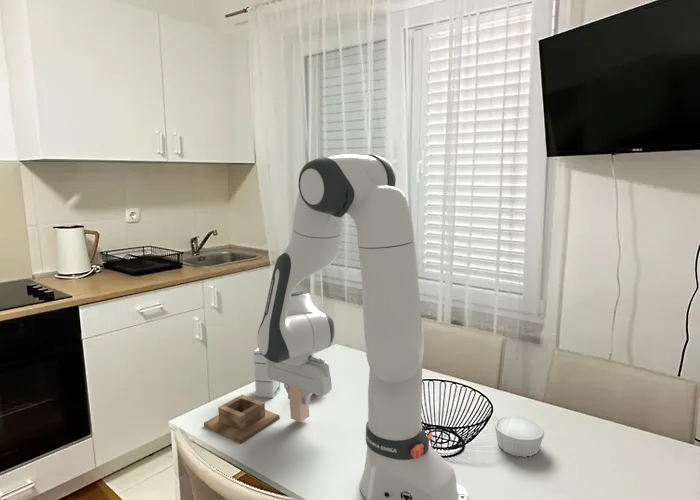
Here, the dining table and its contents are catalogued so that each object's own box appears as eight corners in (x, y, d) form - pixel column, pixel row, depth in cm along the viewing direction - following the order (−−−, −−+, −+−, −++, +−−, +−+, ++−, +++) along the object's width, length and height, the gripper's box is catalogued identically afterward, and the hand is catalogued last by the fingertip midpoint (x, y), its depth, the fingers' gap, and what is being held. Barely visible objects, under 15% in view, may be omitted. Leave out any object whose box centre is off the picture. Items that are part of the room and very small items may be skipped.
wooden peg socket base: (279, 418, 128) (279, 401, 127) (241, 443, 116) (240, 424, 116) (243, 404, 136) (242, 388, 135) (203, 426, 124) (202, 408, 123)
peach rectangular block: (309, 416, 126) (307, 374, 124) (300, 422, 124) (298, 379, 122) (299, 412, 128) (297, 371, 126) (290, 418, 126) (288, 376, 124)
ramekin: (486, 435, 120) (487, 415, 119) (529, 432, 121) (530, 413, 120) (505, 462, 109) (506, 441, 108) (551, 459, 110) (552, 438, 109)
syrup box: (273, 398, 139) (272, 351, 137) (255, 396, 140) (253, 350, 138) (280, 389, 145) (279, 344, 142) (262, 387, 146) (260, 343, 143)
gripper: (336, 356, 119) (337, 407, 122) (277, 340, 131) (280, 387, 133) (320, 365, 114) (322, 417, 117) (261, 348, 126) (263, 396, 128)
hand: (299, 401), depth 125 cm, fingers closed on peach rectangular block, 3 cm apart
